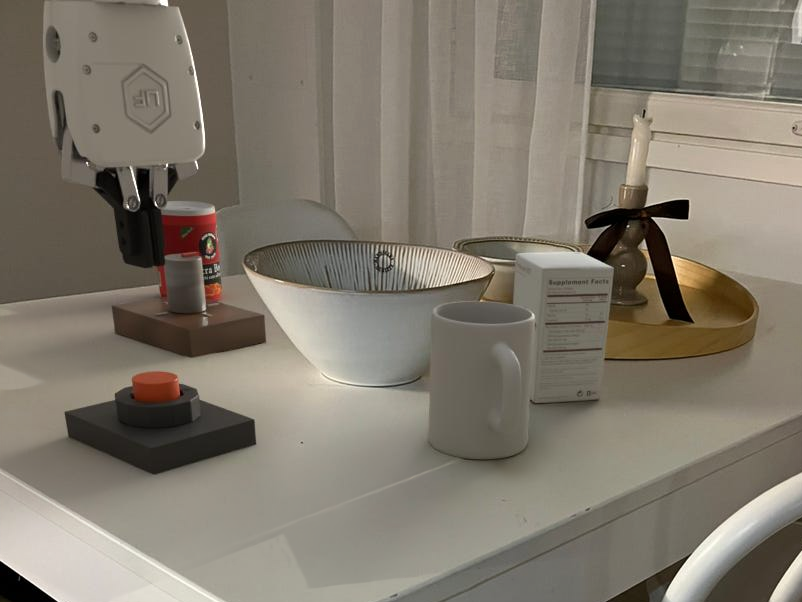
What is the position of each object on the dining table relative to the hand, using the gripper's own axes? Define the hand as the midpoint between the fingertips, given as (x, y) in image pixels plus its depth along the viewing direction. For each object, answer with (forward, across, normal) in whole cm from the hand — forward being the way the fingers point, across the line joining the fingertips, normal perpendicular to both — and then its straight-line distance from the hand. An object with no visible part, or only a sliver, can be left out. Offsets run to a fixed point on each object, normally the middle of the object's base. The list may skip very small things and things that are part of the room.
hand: (144, 264), depth 78 cm
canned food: (+14, +34, +42) cm, 56 cm away
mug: (+15, +18, -20) cm, 30 cm away
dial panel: (+14, +22, +26) cm, 37 cm away
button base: (+14, 0, 0) cm, 14 cm away
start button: (+11, 0, 0) cm, 11 cm away
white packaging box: (+15, +36, -14) cm, 41 cm away
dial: (+11, +22, +26) cm, 36 cm away
